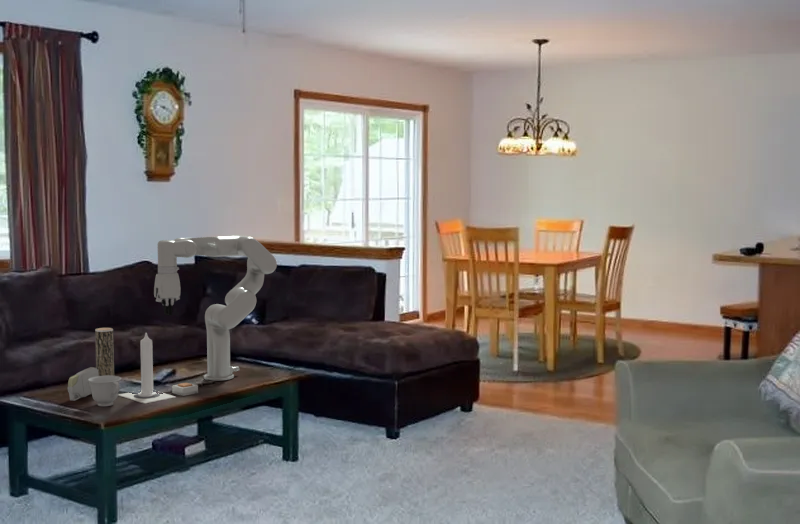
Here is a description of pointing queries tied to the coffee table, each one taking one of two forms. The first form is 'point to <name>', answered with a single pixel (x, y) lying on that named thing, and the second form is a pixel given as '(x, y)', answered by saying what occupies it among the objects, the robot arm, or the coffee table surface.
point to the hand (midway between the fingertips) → (168, 314)
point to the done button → (184, 385)
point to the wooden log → (104, 351)
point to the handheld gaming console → (81, 383)
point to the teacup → (105, 389)
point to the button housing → (185, 390)
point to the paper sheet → (146, 399)
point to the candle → (146, 368)
